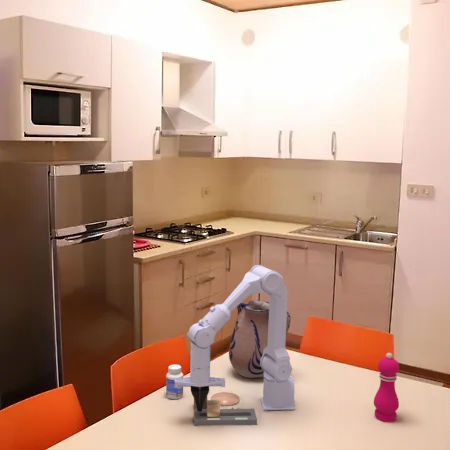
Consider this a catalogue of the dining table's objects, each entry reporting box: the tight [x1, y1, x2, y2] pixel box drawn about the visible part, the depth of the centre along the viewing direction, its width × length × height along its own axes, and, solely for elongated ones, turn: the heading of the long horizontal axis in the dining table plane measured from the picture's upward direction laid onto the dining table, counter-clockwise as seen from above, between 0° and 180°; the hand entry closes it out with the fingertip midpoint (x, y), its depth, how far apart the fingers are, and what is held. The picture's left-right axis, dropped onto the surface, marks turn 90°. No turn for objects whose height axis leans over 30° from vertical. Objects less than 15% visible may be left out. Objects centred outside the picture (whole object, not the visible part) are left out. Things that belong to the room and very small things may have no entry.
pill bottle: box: [165, 364, 184, 400], centre depth 181 cm, size 5×5×10 cm
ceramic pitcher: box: [228, 299, 292, 379], centre depth 199 cm, size 18×21×25 cm
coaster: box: [210, 391, 241, 407], centre depth 180 cm, size 9×9×1 cm
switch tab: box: [207, 399, 221, 417], centre depth 166 cm, size 4×4×3 cm
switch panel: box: [193, 408, 258, 426], centre depth 167 cm, size 18×7×2 cm, turn 94°
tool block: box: [193, 387, 208, 410], centre depth 174 cm, size 4×4×7 cm
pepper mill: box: [373, 352, 400, 423], centre depth 169 cm, size 7×7×20 cm
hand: (199, 409), depth 166 cm, fingers closed
